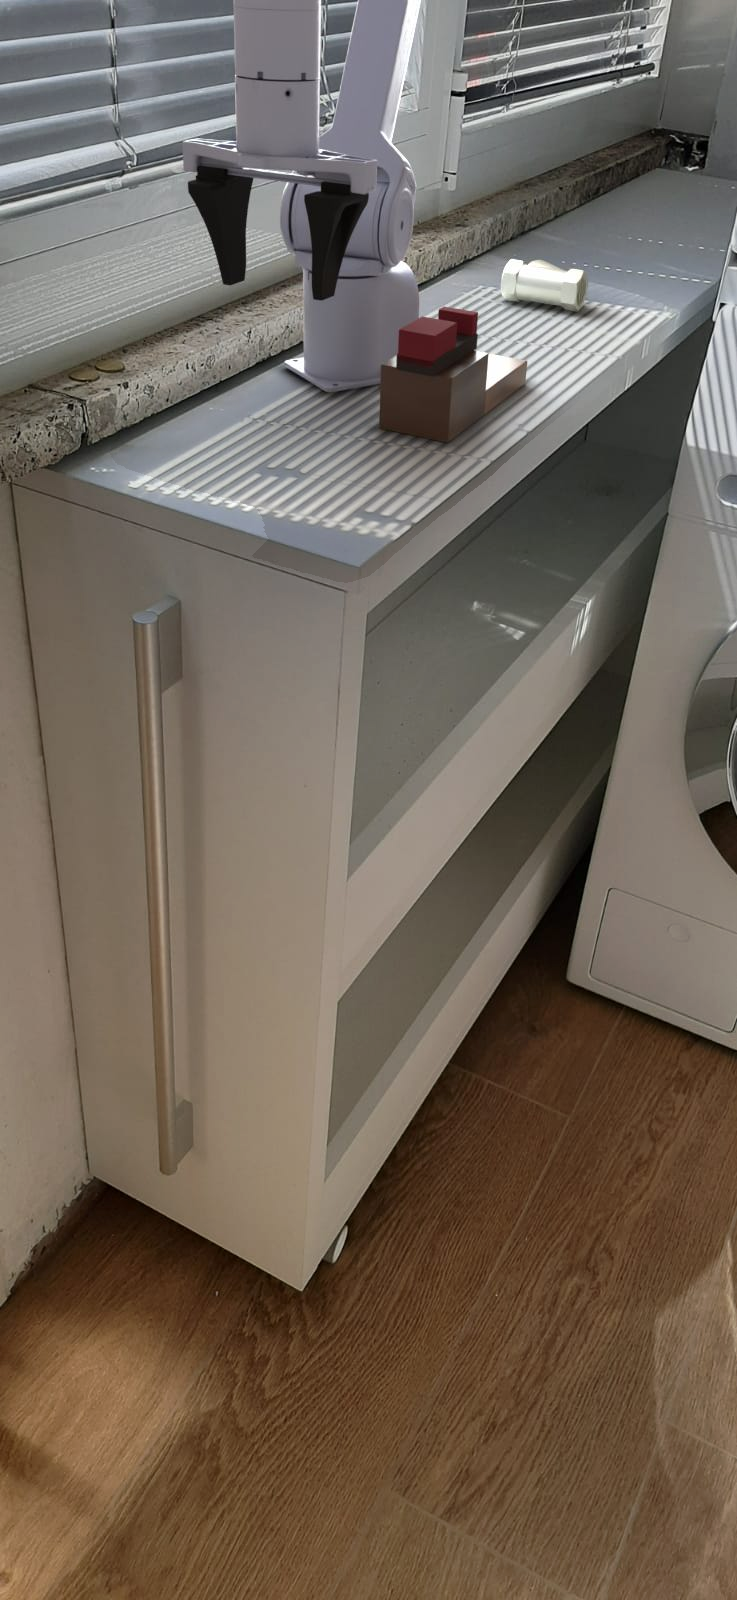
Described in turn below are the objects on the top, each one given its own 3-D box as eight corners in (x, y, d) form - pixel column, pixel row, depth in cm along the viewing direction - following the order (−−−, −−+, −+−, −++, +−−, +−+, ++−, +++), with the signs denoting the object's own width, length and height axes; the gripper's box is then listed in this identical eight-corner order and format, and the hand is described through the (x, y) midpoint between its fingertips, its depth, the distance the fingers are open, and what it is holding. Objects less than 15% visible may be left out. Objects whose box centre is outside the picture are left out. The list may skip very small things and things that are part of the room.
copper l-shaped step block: (462, 371, 111) (466, 313, 108) (525, 383, 108) (531, 324, 105) (378, 428, 99) (380, 364, 96) (447, 443, 97) (451, 378, 94)
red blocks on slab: (440, 342, 101) (442, 303, 99) (476, 348, 100) (479, 309, 98) (395, 369, 95) (397, 329, 93) (434, 377, 94) (436, 336, 92)
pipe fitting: (523, 292, 133) (498, 302, 128) (527, 252, 131) (503, 261, 126) (595, 304, 130) (573, 314, 125) (601, 263, 128) (579, 272, 123)
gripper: (153, 72, 84) (164, 286, 92) (345, 90, 79) (339, 315, 87) (211, 65, 89) (216, 268, 97) (394, 83, 84) (385, 295, 92)
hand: (278, 290), depth 92 cm, fingers open, 7 cm apart
